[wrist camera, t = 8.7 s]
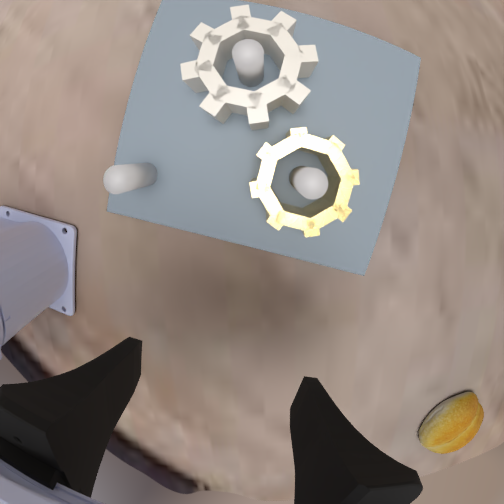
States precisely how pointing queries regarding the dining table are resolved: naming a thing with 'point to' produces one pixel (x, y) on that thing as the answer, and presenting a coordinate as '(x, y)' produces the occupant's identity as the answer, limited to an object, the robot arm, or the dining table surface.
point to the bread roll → (452, 423)
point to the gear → (220, 51)
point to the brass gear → (321, 209)
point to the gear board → (262, 136)
